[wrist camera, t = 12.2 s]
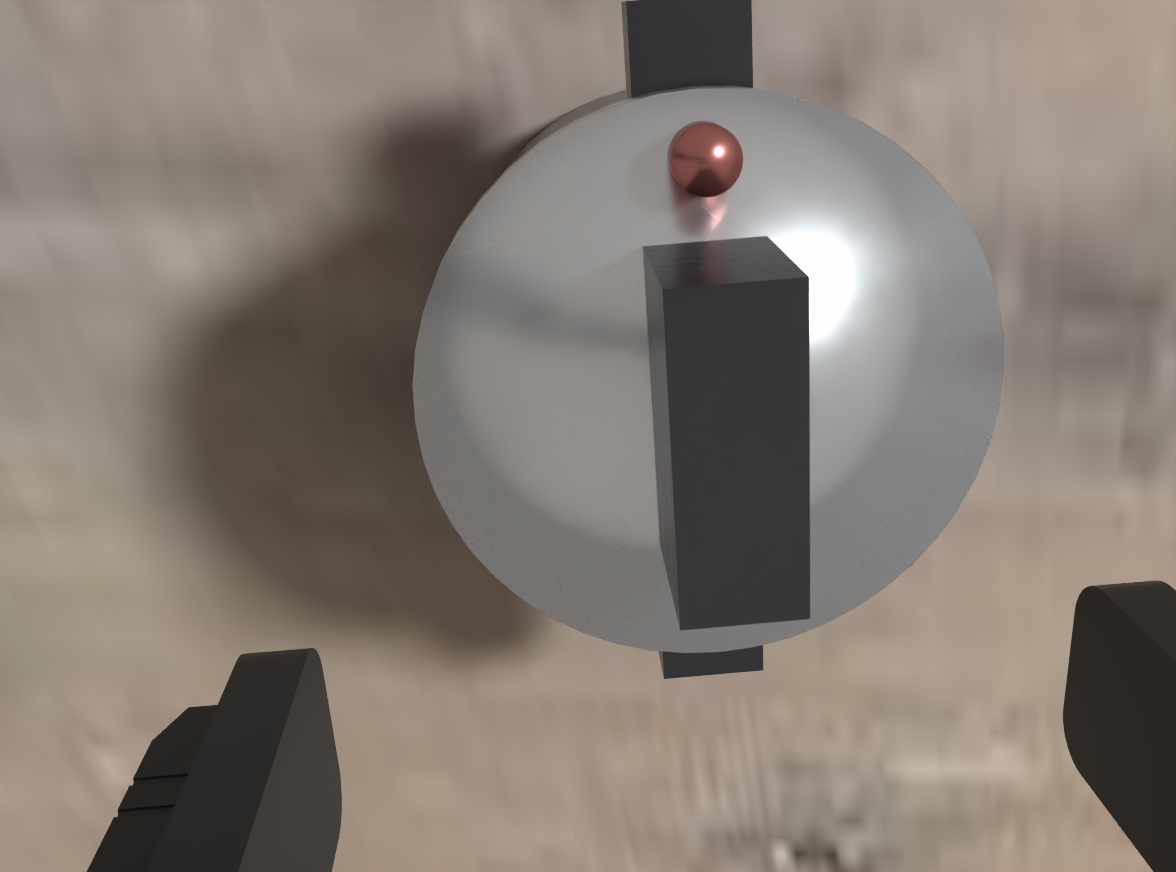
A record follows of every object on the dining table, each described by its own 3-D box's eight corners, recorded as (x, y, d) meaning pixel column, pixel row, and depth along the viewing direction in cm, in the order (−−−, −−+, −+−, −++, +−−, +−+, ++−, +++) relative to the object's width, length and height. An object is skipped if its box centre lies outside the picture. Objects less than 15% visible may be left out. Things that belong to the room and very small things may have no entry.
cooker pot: (489, 566, 41) (476, 709, 32) (424, 18, 34) (387, 20, 25) (870, 533, 41) (956, 667, 33) (881, -18, 34) (995, -28, 26)
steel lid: (453, 652, 32) (437, 779, 26) (378, 111, 26) (339, 136, 21) (971, 606, 32) (1056, 722, 27) (1002, 60, 26) (1118, 72, 21)
